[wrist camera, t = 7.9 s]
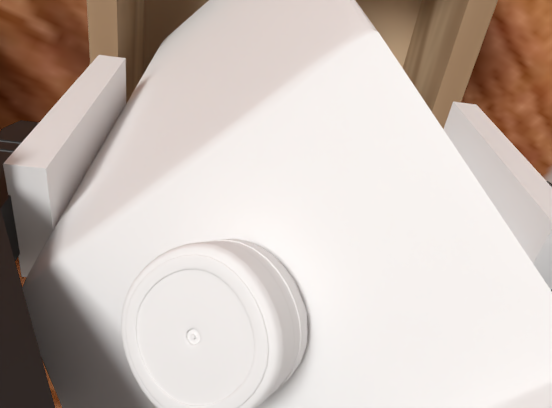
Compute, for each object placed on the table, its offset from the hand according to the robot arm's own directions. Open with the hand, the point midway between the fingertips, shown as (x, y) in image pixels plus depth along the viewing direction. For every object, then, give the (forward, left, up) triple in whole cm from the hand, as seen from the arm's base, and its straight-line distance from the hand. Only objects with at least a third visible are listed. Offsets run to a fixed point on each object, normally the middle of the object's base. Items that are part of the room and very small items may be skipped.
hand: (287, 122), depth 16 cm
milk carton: (0, 0, -7) cm, 7 cm away
